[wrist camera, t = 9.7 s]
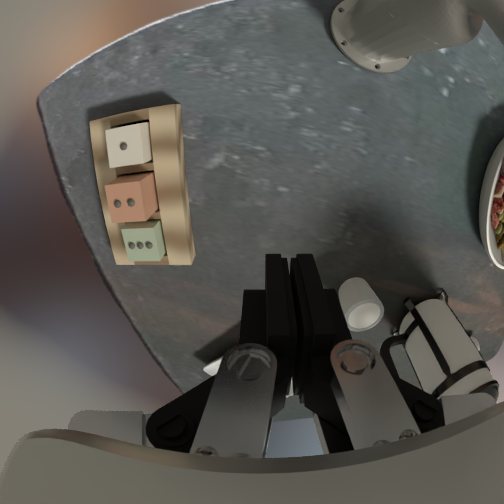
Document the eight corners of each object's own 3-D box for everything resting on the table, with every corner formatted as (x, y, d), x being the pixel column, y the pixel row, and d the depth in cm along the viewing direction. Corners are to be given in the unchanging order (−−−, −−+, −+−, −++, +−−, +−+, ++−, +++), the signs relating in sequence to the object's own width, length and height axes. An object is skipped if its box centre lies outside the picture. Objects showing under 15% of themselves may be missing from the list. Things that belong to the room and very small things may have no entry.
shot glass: (327, 299, 47) (335, 326, 40) (348, 268, 43) (360, 294, 37) (357, 309, 48) (368, 335, 42) (378, 281, 45) (392, 306, 38)
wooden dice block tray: (100, 119, 32) (89, 121, 30) (180, 104, 32) (174, 103, 29) (123, 255, 43) (116, 264, 41) (195, 254, 43) (191, 264, 40)
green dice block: (134, 215, 40) (120, 229, 35) (165, 214, 40) (153, 228, 35) (140, 245, 42) (128, 261, 38) (170, 245, 42) (159, 261, 37)
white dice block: (122, 127, 33) (104, 130, 28) (154, 121, 33) (139, 123, 28) (125, 160, 36) (109, 168, 31) (157, 156, 35) (143, 163, 31)
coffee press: (434, 269, 43) (518, 391, 17) (453, 310, 48) (513, 412, 22) (365, 323, 49) (411, 462, 23) (395, 354, 54) (434, 464, 28)
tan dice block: (121, 175, 35) (103, 185, 30) (153, 171, 34) (138, 181, 30) (127, 209, 37) (111, 223, 32) (158, 207, 37) (145, 221, 32)
